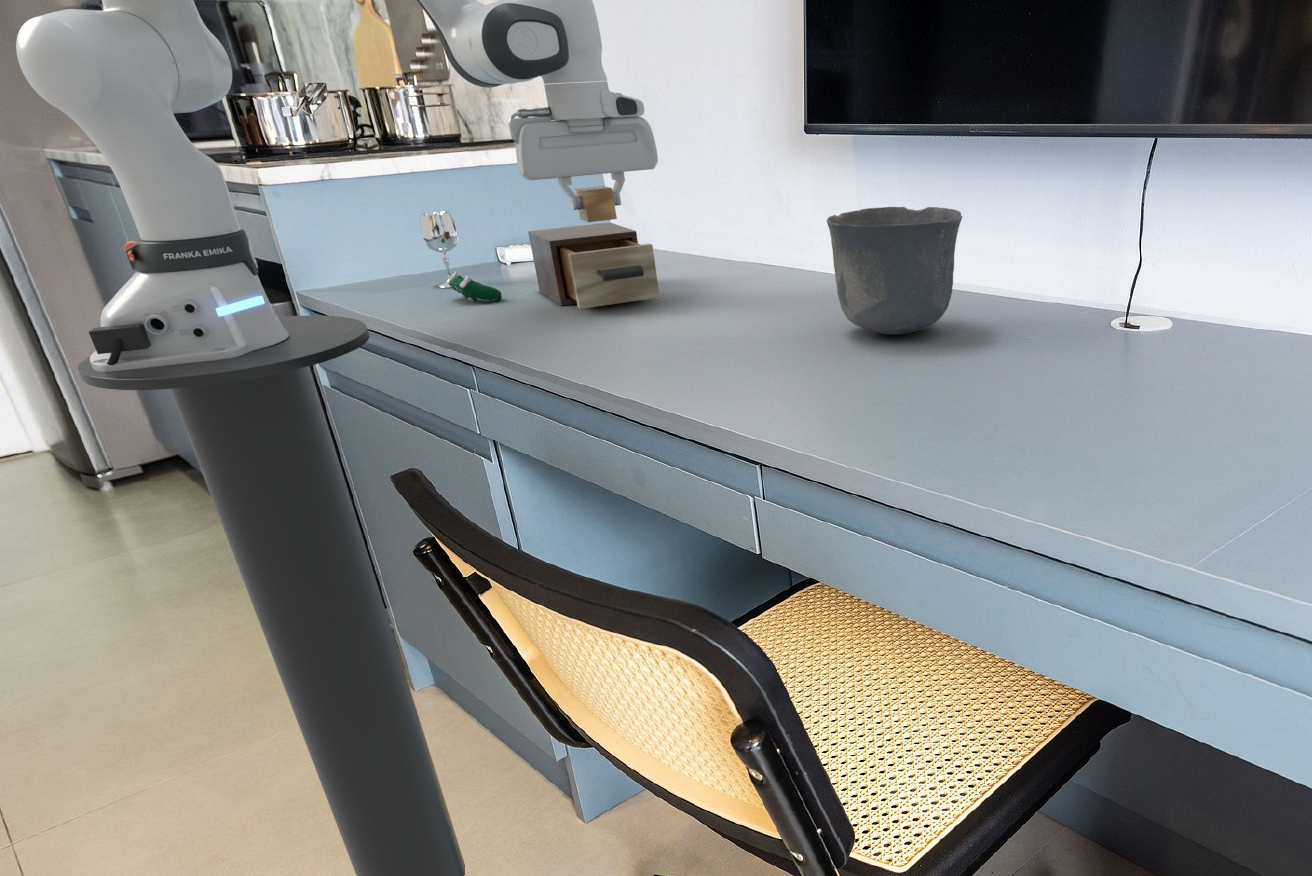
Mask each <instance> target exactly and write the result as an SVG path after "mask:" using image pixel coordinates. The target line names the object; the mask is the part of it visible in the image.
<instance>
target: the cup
mask: <svg viewBox="0 0 1312 876" xmlns="http://www.w3.org/2000/svg"><path fill="white" fill-rule="evenodd" d="M962 219H963V215H962V212H961V211H960V210H958V209H953V208H947V207H937V206H927V207H925V208H922V209H913V208H912V209H910V208H908V207H905V206H885V207H869V208H861V209H859V210H853V211H848V212H847V211H846V212H842V213H840V214H839V215H835V214H833V215H831V216H829V217H827V219H826V223H827V226H828V230H829V235H830V242H831V249H832V250H831V251H832V258H833V269H834V277H835V284H836V290H837V291H836V292H837V298H838V301H839V305H840V309H841V311H842V312H843V314H844V316H845V318H846V320H847V321H849V323H852V325H854V326H856V327H858V328H861V329H863V330H867V331H870V332H874V333H877V334H881V335H892V336H894V335H896V336H897V335H904V334H905V335H906V334H911V333H916V332H919V331H922V330H925V329H927V328H930V327H931V326H933V325H935V324H936V323H937V322H938V321H939V320H940V319H941V318H942V317H943V316H944V314H945V312H947V310H948V307H949V305H950V301H951V299H952V295H953V287H954V271H955V252H956V244H957V238H958V235H959V234H958V233H959V229H960V225H961V222H962Z"/></svg>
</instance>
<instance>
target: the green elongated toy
mask: <svg viewBox="0 0 1312 876" xmlns="http://www.w3.org/2000/svg"><path fill="white" fill-rule="evenodd" d="M448 282H449V283H448V284H449V285H450V286H451V289H452V290H453V291H456V292H457V293H458V294H461V298H463V299H464V300H466V301H467V300H468V301H470V302H471V303H475V302H477V301H478V300H479V301H486V302H487V301H489V302H500V301H501V300H502V299H503V298H502V292H501V291H500V290H499V289H497V288H495V287H492V286H489V285H485V284H482V283H480V282H478V281H475V280H473V279H472V278H471V277H470V276H469V275H468V274H467V275H466V276H465V277H462V275H460V274H459V273H458V271H454V273H452V274H451V277H450V279H449V281H448Z"/></svg>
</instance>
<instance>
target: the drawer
mask: <svg viewBox="0 0 1312 876" xmlns="http://www.w3.org/2000/svg"><path fill="white" fill-rule="evenodd" d="M556 248H557V254H558V259H559V265H560V270H561V275H562V281H563V286H564V292H565V294H566V295H567V296H569V297H571V298H573V299H574V300H576V301H577V304H576V305H577V308H578V309H579V310H581V309H582V310H583V309H590V308H595V307H604V306H610V305H617V304H624V303H630V302H638V301H644V300H652V299H658V298H660V297H661V295H660V289H659V282H658V275H657V268H656V267H657V266H656V260H655V253H654V247H653V244H652V243H643V244H640V243H639V242H638V243H635V242H633V241H630V240H627V239H616V240H607V241H599V242H590V243H582V244H573V245H565V246H556Z"/></svg>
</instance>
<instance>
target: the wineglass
mask: <svg viewBox="0 0 1312 876" xmlns="http://www.w3.org/2000/svg"><path fill="white" fill-rule="evenodd" d="M419 221H420V232H421V237H422V241H423V243H424V244H425V246H426V247H427V248H428V249H429V250H432V251H434V252H437V253H441V254H442V255H441V257H442V262H443V263H444V266H445V269H446V272H447V280H446V281H445V282H444V283H441V284H439V285H438V288H442V289H448V288H451V286H450V285H449V284H448V283H449V282H448V281H449V279H450V277H452V274H451V270H450V259H449V256H448V255H447V253H448V252H450V251H452V250H454V249H455V247H457V246H458V243H459V233H458V229H457V227H456V224H455V221H454V219H453V216H452V215H451V213H450V211H433V212H425V213H421V214H420V220H419ZM451 289H452V288H451Z"/></svg>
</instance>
